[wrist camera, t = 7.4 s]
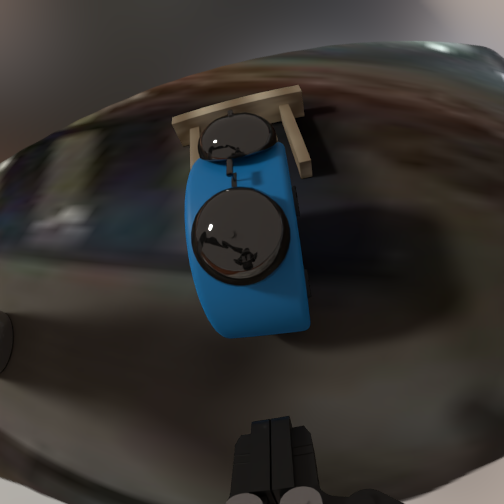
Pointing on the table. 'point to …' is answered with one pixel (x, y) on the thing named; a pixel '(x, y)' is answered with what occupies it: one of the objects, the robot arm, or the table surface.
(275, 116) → the wooden staple shape
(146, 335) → the table surface
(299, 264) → the alarm clock
